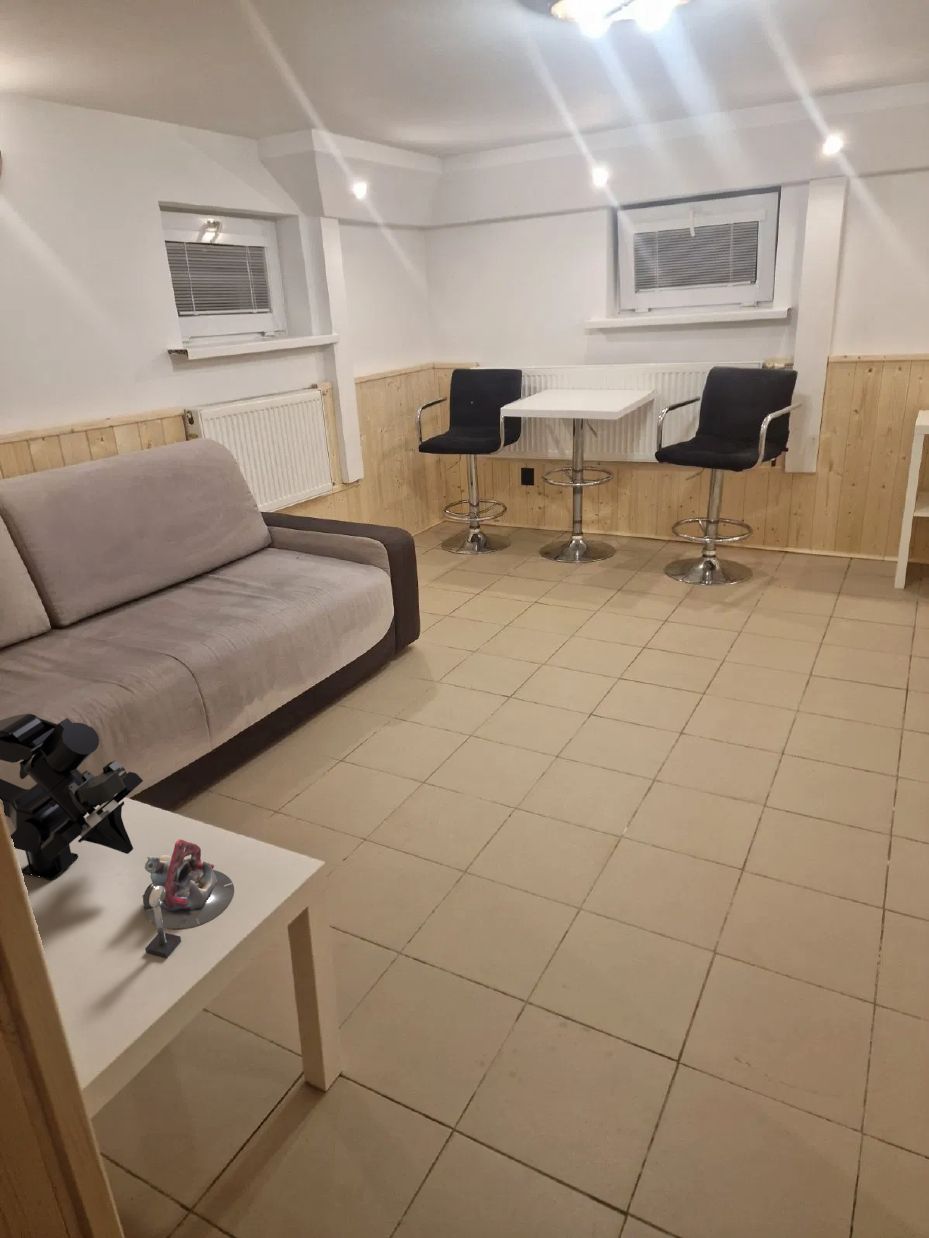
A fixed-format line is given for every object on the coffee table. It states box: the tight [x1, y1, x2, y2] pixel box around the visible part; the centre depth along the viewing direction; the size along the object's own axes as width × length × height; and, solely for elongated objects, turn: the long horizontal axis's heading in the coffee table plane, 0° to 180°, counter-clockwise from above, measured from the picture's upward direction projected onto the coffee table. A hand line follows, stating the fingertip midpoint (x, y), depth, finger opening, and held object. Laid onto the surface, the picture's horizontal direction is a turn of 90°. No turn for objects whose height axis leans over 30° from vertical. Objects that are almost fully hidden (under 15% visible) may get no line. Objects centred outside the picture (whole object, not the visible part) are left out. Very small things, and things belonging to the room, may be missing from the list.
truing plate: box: [143, 869, 235, 930], centre depth 134 cm, size 14×14×1 cm
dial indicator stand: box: [142, 882, 182, 960], centre depth 122 cm, size 4×4×12 cm
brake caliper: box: [142, 839, 217, 911], centre depth 133 cm, size 11×11×12 cm
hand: (130, 851), depth 134 cm, fingers closed
